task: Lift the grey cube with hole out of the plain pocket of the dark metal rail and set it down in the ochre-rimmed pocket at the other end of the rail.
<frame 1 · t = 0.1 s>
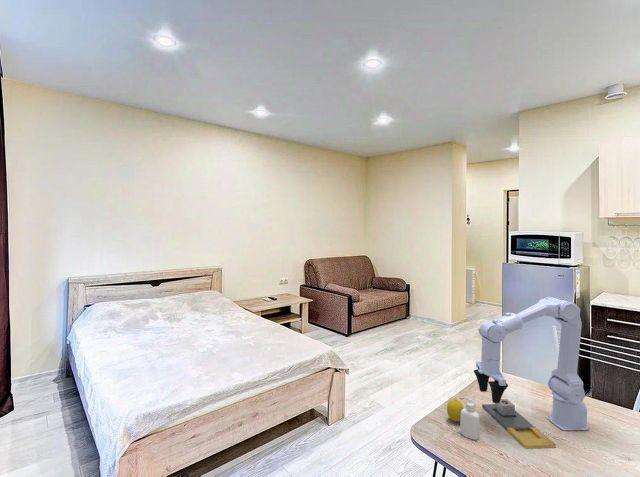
hand: (489, 396, 115), 10 cm above the table, tool pointing down, fingers open, 7 cm apart
lemon: (455, 422, 117), on the table
rail: (515, 425, 115), on the table
grey cube with hole: (504, 415, 121), resting in rail
eye dropper bottle: (469, 436, 109), on the table
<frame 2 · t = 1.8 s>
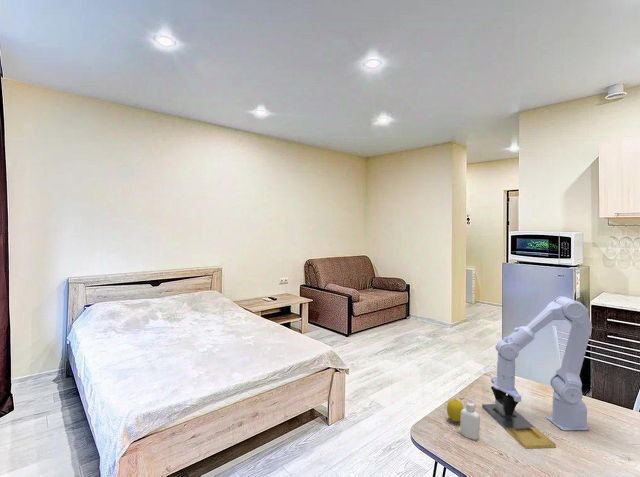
hand: (504, 411, 121), 2 cm above the table, tool pointing down, fingers closed on grey cube with hole, 4 cm apart
grey cube with hole: (504, 415, 121), resting in rail, touching gripper
everything else where it was.
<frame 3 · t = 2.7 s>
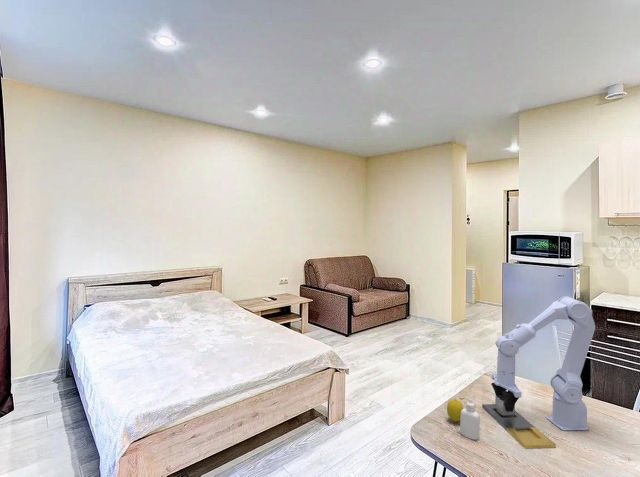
hand: (504, 407, 121), 3 cm above the table, tool pointing down, fingers closed on grey cube with hole, 4 cm apart
grey cube with hole: (504, 411, 121), point 1 cm above the table, touching gripper
everything else where it was.
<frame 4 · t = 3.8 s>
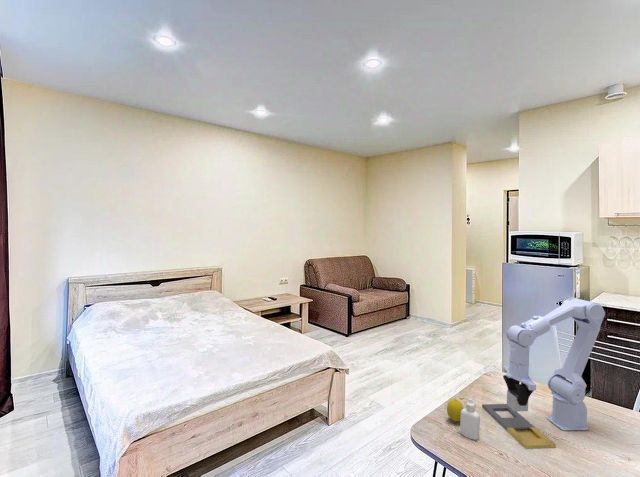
hand: (517, 401, 114), 9 cm above the table, tool pointing down, fingers closed on grey cube with hole, 4 cm apart
grey cube with hole: (517, 407, 114), point 7 cm above the table, touching gripper
everything else where it was.
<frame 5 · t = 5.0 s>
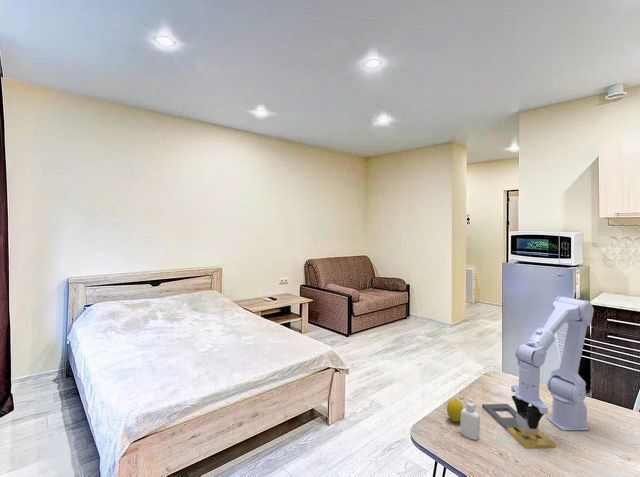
hand: (527, 423, 109), 4 cm above the table, tool pointing down, fingers closed on grey cube with hole, 4 cm apart
grey cube with hole: (526, 431, 109), point 2 cm above the table, touching gripper
everything else where it was.
when the fingers open (3 cm above the table, at t = 5.7 s): grey cube with hole stays where it is, resting on rail.
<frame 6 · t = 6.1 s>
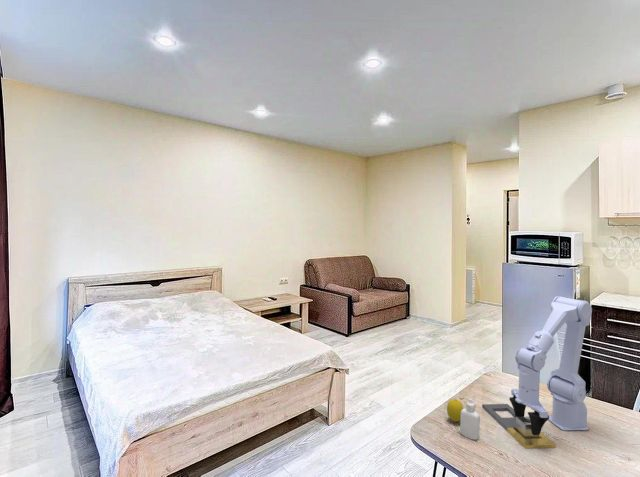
hand: (527, 427, 109), 3 cm above the table, tool pointing down, fingers open, 7 cm apart
grey cube with hole: (526, 435, 109), resting on rail
everything else where it was.
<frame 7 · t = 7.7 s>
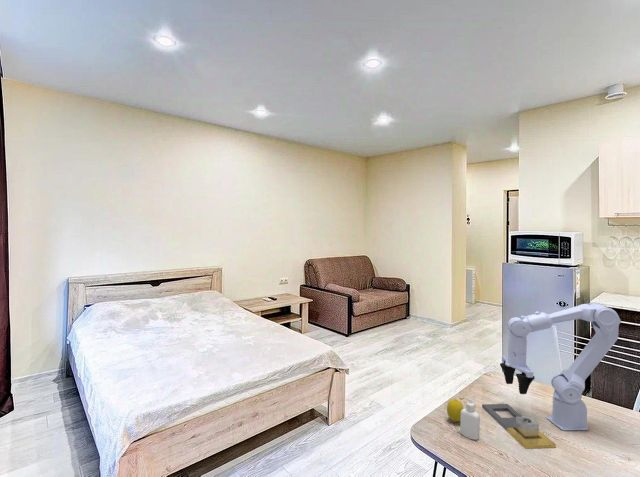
hand: (515, 388, 121), 10 cm above the table, tool pointing down, fingers open, 7 cm apart
nothing on the table moved.
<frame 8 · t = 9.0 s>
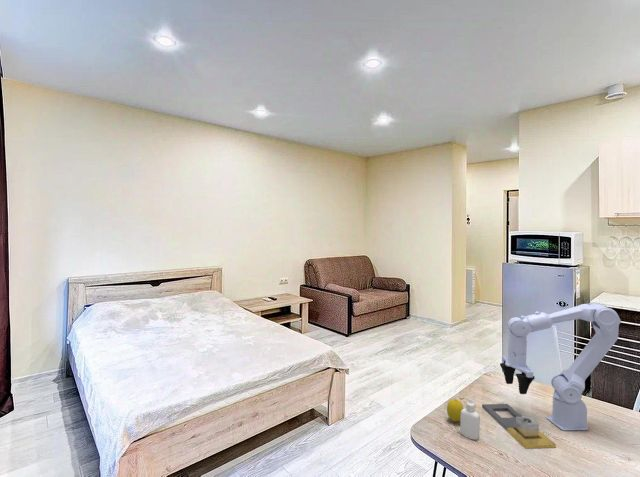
hand: (515, 388, 121), 10 cm above the table, tool pointing down, fingers open, 7 cm apart
nothing on the table moved.
at the end: grey cube with hole 0.1 cm from the target spot on the rail, point 0.2 cm above the rail's base; grey cube with hole tilted 0°; the gripper is holding nothing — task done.
